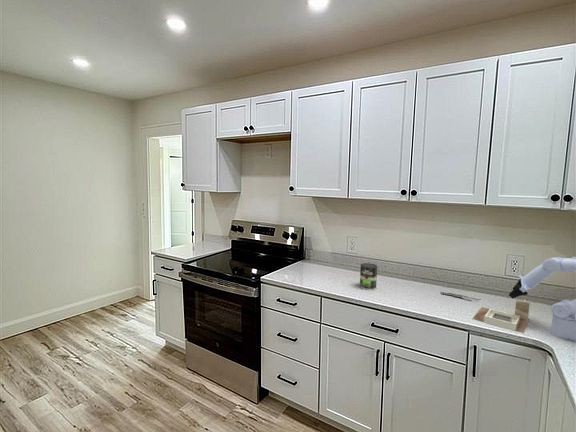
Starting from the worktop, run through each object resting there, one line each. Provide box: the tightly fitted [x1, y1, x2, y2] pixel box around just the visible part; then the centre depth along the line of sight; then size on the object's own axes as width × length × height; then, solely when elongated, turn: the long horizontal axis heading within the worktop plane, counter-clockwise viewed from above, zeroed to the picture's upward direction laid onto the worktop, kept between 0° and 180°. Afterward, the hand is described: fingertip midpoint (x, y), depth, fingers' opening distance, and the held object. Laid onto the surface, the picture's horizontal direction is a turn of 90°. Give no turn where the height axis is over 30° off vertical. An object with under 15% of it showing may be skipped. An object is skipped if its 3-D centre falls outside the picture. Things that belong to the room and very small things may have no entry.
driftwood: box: [440, 291, 481, 302], centre depth 179 cm, size 21×7×2 cm, turn 47°
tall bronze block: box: [514, 300, 531, 320], centre depth 149 cm, size 2×5×8 cm, turn 47°
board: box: [471, 306, 530, 334], centre depth 149 cm, size 20×20×1 cm
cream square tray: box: [483, 308, 520, 332], centre depth 145 cm, size 12×12×3 cm
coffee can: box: [359, 262, 378, 291], centre depth 193 cm, size 10×10×14 cm
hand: (512, 293), depth 150 cm, fingers open, 7 cm apart
